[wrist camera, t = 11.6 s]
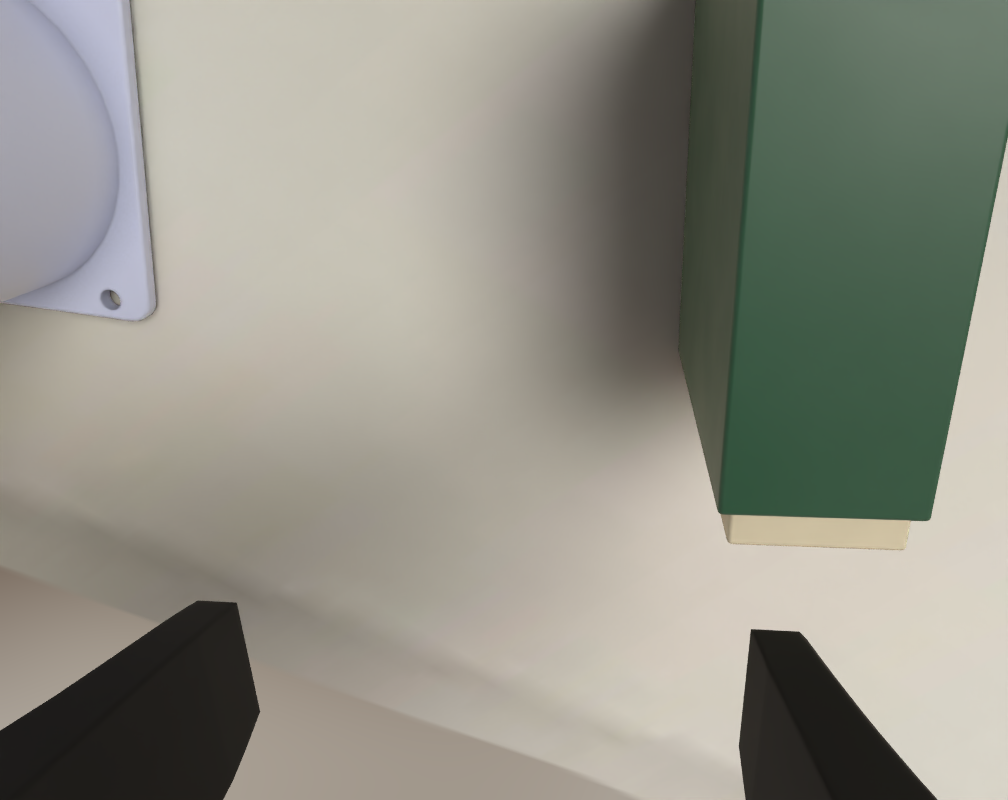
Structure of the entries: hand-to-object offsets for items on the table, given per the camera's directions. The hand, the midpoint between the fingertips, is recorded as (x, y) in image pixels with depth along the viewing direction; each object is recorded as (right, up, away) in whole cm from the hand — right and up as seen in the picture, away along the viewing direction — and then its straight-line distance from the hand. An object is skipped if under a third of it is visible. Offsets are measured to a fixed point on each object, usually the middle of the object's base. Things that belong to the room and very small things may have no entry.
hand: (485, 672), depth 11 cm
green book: (+6, +9, +6) cm, 12 cm away
